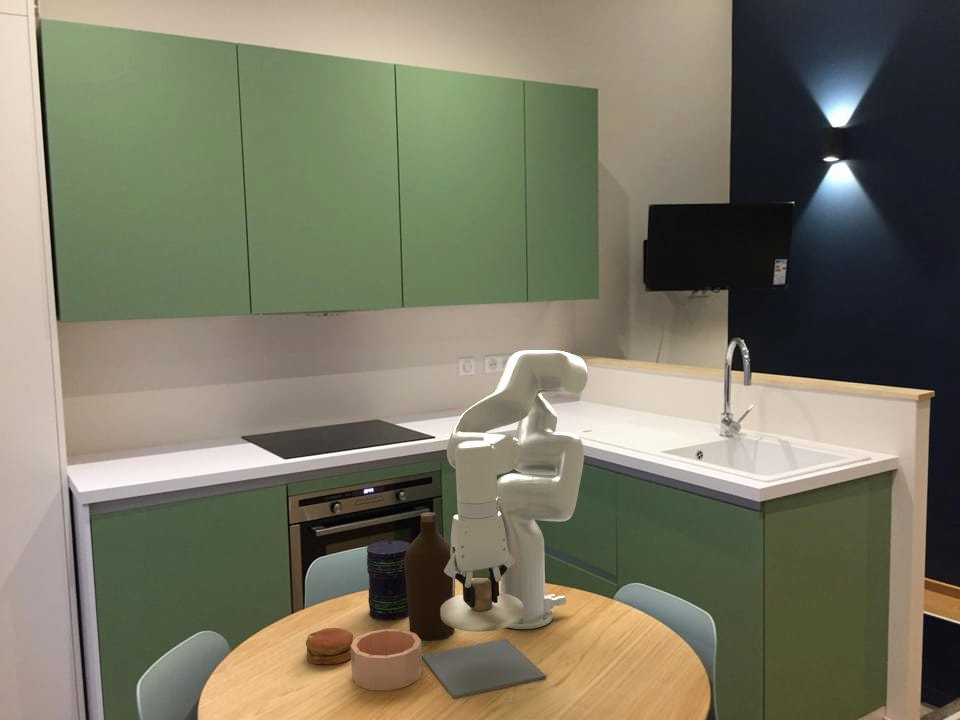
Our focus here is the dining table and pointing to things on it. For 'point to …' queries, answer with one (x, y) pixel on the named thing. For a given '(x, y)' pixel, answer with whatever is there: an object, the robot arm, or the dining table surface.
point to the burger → (329, 646)
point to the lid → (482, 610)
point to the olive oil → (428, 581)
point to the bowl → (386, 659)
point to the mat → (482, 667)
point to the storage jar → (387, 580)
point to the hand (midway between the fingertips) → (481, 601)
